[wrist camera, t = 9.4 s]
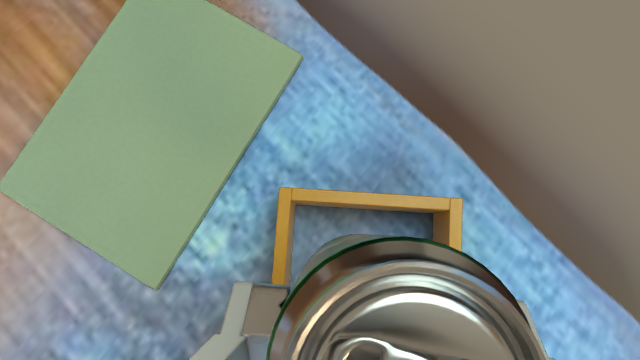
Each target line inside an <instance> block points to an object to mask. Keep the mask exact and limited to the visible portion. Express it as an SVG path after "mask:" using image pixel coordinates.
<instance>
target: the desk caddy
mask: <svg viewBox="0 0 640 360" xmlns="http://www.w3.org/2000/svg"><path fill="white" fill-rule="evenodd" d="M296 204H297V205H312V206H327V207H343V208H358V209H374V210H389V211H405V212H420V213H433V241H435V242H438V243H442V244H446V245H448V246H450V247H452V248H454V249H457V250H459V251H461V252H462V208H463V199H462V198H446V197H430V196H414V195H398V194H383V193H367V192H351V191H335V190H319V189H304V188H287V187H280V188H279V198H278V210H277V223H276V235H275V248H274V261H273V273H272V284H277V285H288V286H289V288H290V275H291V261H292V248H293V234H294V221H295V207H296Z"/></svg>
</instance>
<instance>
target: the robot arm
mask: <svg viewBox="0 0 640 360" xmlns="http://www.w3.org/2000/svg"><path fill="white" fill-rule="evenodd" d="M289 294H290V288H289V286H288V285H277V284H266V283H255V282H243V281H236V282H235V284H234V286H233V288H232V292H231V296H230V299H229V303H228V306H227V310H226V314H225V317H224V321H223V325H222V328H221V332H220V334H214V335H213V336H212V337H211V338H210V339H209V340H208V341H207V342H206V343H205V344H204V345H203V346H202V347H201V348H200V349H199V350H198V351H197V352H196V353H195V354H193V355H192V356H191V357H190V358H189V359H188V360H266V355H267V347H268V344H269V340H270V337H271V333H272V330H273V326H274V324H275V322H276V320H277V318H278V315H279V313H280V311H281V309H282V307H283V305H284V303H285V301H286V299H287V298H288V296H289ZM516 301H517V302H518V304H519V306H520V307H521V309H522V311H523V312H524V314H525V316H526V317H527V320H528V322H529V325H530V327H531V329H532V332H533V334H534V336H535V337H536V339H537V341H538V343H539V345H540V347H541V350H542V352H543V354H544V357H545V359H546V360H555V359H554V358H548V356H547V353H546V351H545V349H544V346H543V344H542V341H541V339H540V337H539V334H538V332H537V330H536V327H535V325H534V322H533V320H532V318H531V315H530V313H529V310H528V308H527V306H526V304H525V303H524V302H523V301H518V300H516Z"/></svg>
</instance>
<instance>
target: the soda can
mask: <svg viewBox="0 0 640 360" xmlns="http://www.w3.org/2000/svg"><path fill="white" fill-rule="evenodd" d="M266 360H546V359H545V357H544V354H543V352H542V350H541V347H540V345H539V343H538V341H537V339H536V337H535V336H534V334H533V332H532V329H531V327H530V325H529V322H528V320H527V317H526V316H525V314H524V312H523V311H522V309H521V307H520V306H519V304H518V302H517V301H516V299H515V297H514V296H513V295H512V294H511V293H510V291H509V290H508V289H507V288H506V287H505V285H504V284H503V283H502V282H501V281H500V280H499V279H498V278H497V277H496V276H495V275H494V274H493V273H492V272H490V271H489V270H488V269H487V268H486V267H485V266H484V265H482V264H481V263H479V262H478V261H476V260H475V259H473V258H472V257H470V256H468V255H467V254H465V253H463V252H461V251H459V250H457V249H454V248H452V247H450V246H448V245H446V244H442V243H438V242H435V241H431V240H428V239H423V238H414V237H406V236H387V235H367V234H350V235H345V236H340V237H338V238H335V239H332V240H331V241H329V242H327V243H325V244H324V245H323V246H321V247H320V248H319V249H318V250H317V251H316V252H315V253H314V254H313V255H312V256H311V258H310V259H309V261H308V262H307V264H306V266H305V268H304V269H303V271H302V273H301V275H300V276H299V278H298V280H297V282H296V284H295V285H294V287H293V289H292V291H291V292H290V294H289V296H288V298H287V299H286V301H285V303H284V305H283V307H282V309H281V311H280V313H279V315H278V318H277V320H276V322H275V324H274V326H273V330H272V333H271V337H270V340H269V344H268V347H267V355H266Z"/></svg>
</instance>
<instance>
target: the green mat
mask: <svg viewBox="0 0 640 360" xmlns="http://www.w3.org/2000/svg"><path fill="white" fill-rule="evenodd" d="M302 61H303V55H302V54H300V53H299V52H297V51H295V50H293V49H291V48H290V47H288V46H286V45H284V44H283V43H281V42H279V41H277V40H275V39H274V38H272V37H270V36H268V35H267V34H265V33H263V32H261V31H259V30H258V29H256V28H254V27H252V26H251V25H249V24H247V23H245V22H243V21H242V20H240V19H238V18H236V17H235V16H233V15H231V14H229V13H227V12H226V11H224V10H222V9H220V8H219V7H217V6H215V5H213V4H211V3H210V2H208V1H206V0H126V2H125V3H124V5H123V6H122V8H121V9H120V11H119V12H118V13H117V15H116V16H115V18H114V19H113V21H112V22H111V23H110V25H109V26H108V28H107V29H106V31H105V32H104V34H103V35H102V36H101V38H100V39H99V41H98V42H97V44H96V45H95V46H94V48H93V49H92V51H91V52H90V54H89V55H88V57H87V58H86V59H85V61H84V62H83V64H82V65H81V67H80V68H79V70H78V71H77V72H76V74H75V75H74V77H73V78H72V80H71V81H70V82H69V84H68V85H67V87H66V88H65V90H64V91H63V93H62V94H61V95H60V97H59V98H58V100H57V101H56V103H55V104H54V105H53V107H52V108H51V110H50V111H49V113H48V114H47V116H46V117H45V118H44V120H43V121H42V123H41V124H40V126H39V127H38V129H37V130H36V131H35V133H34V134H33V136H32V137H31V139H30V140H29V141H28V143H27V144H26V146H25V147H24V149H23V150H22V152H21V153H20V154H19V156H18V157H17V159H16V160H15V162H14V163H13V164H12V166H11V167H10V169H9V170H8V172H7V173H6V175H5V176H4V177H3V179H2V180H1V182H0V191H1V192H3V193H4V194H6V195H7V196H9V197H10V198H12V199H13V200H15V201H17V202H18V203H20V204H21V205H23V206H24V207H26V208H27V209H29V210H31V211H32V212H34V213H35V214H37V215H38V216H40V217H42V218H43V219H45V220H46V221H48V222H49V223H51V224H52V225H54V226H56V227H57V228H59V229H60V230H62V231H63V232H65V233H66V234H68V235H70V236H71V237H73V238H74V239H76V240H77V241H79V242H80V243H82V244H84V245H85V246H87V247H88V248H90V249H91V250H93V251H94V252H96V253H98V254H99V255H101V256H102V257H104V258H105V259H107V260H108V261H110V262H112V263H113V264H115V265H116V266H118V267H119V268H121V269H122V270H124V271H126V272H127V273H129V274H130V275H132V276H133V277H135V278H137V279H138V280H140V281H141V282H143V283H144V284H146V285H147V286H149V287H151V288H152V289H154V290H156V289H159V288H160V287H161V285H162V283H163V282H164V280H165V279H166V277H167V275H168V274H169V272H170V271H171V269H172V267H173V266H174V264H175V263H176V261H177V260H178V258H179V256H180V255H181V253H182V252H183V250H184V248H185V247H186V245H187V244H188V242H189V240H190V239H191V237H192V236H193V234H194V232H195V231H196V229H197V228H198V226H199V225H200V223H201V221H202V220H203V218H204V217H205V215H206V213H207V212H208V210H209V209H210V207H211V205H212V204H213V202H214V201H215V199H216V197H217V196H218V194H219V193H220V191H221V190H222V188H223V186H224V185H225V183H226V182H227V180H228V178H229V177H230V175H231V174H232V172H233V170H234V169H235V167H236V166H237V164H238V162H239V161H240V159H241V158H242V156H243V155H244V153H245V151H246V150H247V148H248V147H249V145H250V143H251V142H252V140H253V139H254V137H255V135H256V134H257V132H258V131H259V129H260V128H261V126H262V124H263V123H264V121H265V120H266V118H267V116H268V115H269V113H270V112H271V110H272V108H273V107H274V105H275V104H276V102H277V100H278V99H279V97H280V96H281V94H282V93H283V91H284V89H285V88H286V86H287V85H288V83H289V81H290V80H291V78H292V77H293V75H294V73H295V72H296V70H297V69H298V67H299V65H300V64H301V62H302Z"/></svg>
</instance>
